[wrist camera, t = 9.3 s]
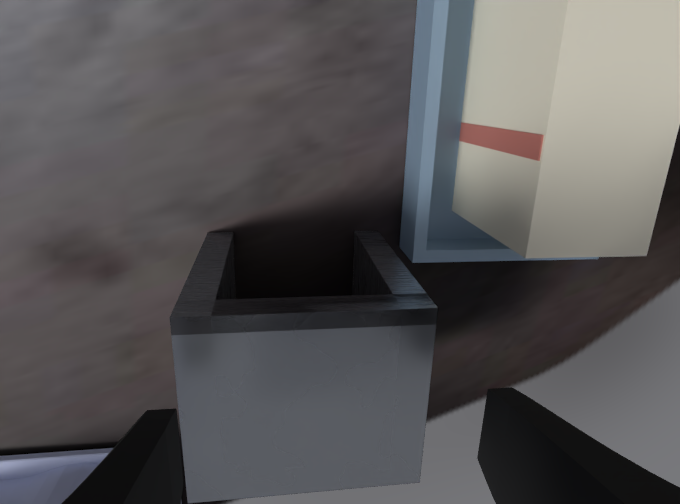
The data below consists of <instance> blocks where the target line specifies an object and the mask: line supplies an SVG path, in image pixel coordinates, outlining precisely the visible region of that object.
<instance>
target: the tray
mask: <svg viewBox="0 0 680 504" xmlns="http://www.w3.org/2000/svg"><path fill="white" fill-rule="evenodd" d="M473 9H474V0H417V13H416V26H415V40H414V54H413V67H412V81H411V95H410V108H409V122H408V136H407V149H406V163H405V177H404V190H403V204H402V218H401V231H400V245H399V247H400V248H401V250H402V251H403V252H404V253H405V254H406V256H407V257H408V258H409V259H410V260H411V262H412V263H430V262H477V261H524V260H571V259H598V258H599V257H572V258H524V257H523V256H521V255H519V254H518V253H516V252H515V251H513V250H512V249H510V248H509V247H507V246H506V245H504V244H502V243H501V242H499V241H498V240H496V239H495V238H493V237H492V236H490V235H489V234H487V233H485V232H484V231H482V230H481V229H479V228H478V227H476V226H475V225H473V224H472V223H470V222H468V221H467V220H465V219H464V218H462V217H461V216H459V215H458V214H456V213H455V212H453V211H452V203H453V194H454V185H455V176H456V166H457V157H458V148H459V137H460V127H461V120H462V111H463V102H464V92H465V83H466V74H467V65H468V55H469V46H470V37H471V28H472V18H473Z"/></svg>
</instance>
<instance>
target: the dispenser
mask: <svg viewBox="0 0 680 504" xmlns="http://www.w3.org/2000/svg"><path fill="white" fill-rule="evenodd" d="M437 313H438V307H437V306H436V305H435V303H434V302H433V301H432V300H431V298H430V297H429V296H428V295H427V293H426V292H425V291H424V289H423V288H422V287H421V286H420V284H419V283H418V282H417V280H416V279H415V278H414V277H413V275H412V274H411V273H410V271H409V270H408V269H407V268H406V266H405V265H404V264H403V262H402V261H401V260H400V259H399V257H398V256H397V255H396V254H395V252H394V251H393V250H392V248H391V247H390V246H389V245H388V243H387V242H386V241H385V239H384V238H383V237H382V236H381V234H380V233H379V232H378V231H354V255H353V279H352V296H320V297H287V298H255V299H236V283H235V261H234V239H233V232H213V233H207V236H206V238H205V240H204V242H203V244H202V247H201V249H200V251H199V253H198V256H197V258H196V260H195V262H194V265H193V267H192V269H191V271H190V274H189V276H188V278H187V280H186V282H185V285H184V287H183V289H182V291H181V294H180V296H179V298H178V300H177V303H176V305H175V307H174V309H173V311H172V314H171V316H170V325H171V336H172V346H173V356H174V367H175V377H176V387H177V398H178V408H179V419H180V429H181V439H182V450H183V460H184V470H185V481H186V491H187V501H188V503H198V502H209V501H220V500H231V499H242V498H253V497H264V496H275V495H286V494H297V493H308V492H319V491H330V490H340V489H352V488H363V487H375V486H385V485H396V484H408V483H419V482H420V474H421V464H422V454H423V445H424V436H425V426H426V417H427V408H428V398H429V389H430V379H431V370H432V360H433V351H434V341H435V332H436V322H437Z"/></svg>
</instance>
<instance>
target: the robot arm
mask: <svg viewBox="0 0 680 504" xmlns="http://www.w3.org/2000/svg"><path fill="white" fill-rule="evenodd" d="M478 461H479V464H480V466H481V469H482V471H483V474H484V476H485V479H486V481H487V484H488V486H489V489H490V491H491V494H492V496H493V498H494V500H495V502H496V504H680V487H678V486H676V485H674V484H672V483H670V482H668V481H666V480H664V479H662V478H660V477H658V476H657V475H655V474H653V473H651V472H649V471H647V470H646V469H644V468H642V467H640V466H639V465H637V464H635V463H633V462H632V461H630V460H628V459H627V458H625V457H623V456H621V455H620V454H618V453H616V452H614V451H613V450H611V449H609V448H608V447H606V446H605V445H603V444H601V443H600V442H598V441H596V440H595V439H593V438H592V437H590V436H588V435H587V434H585V433H584V432H582V431H580V430H579V429H577V428H576V427H574V426H573V425H571V424H570V423H568V422H566V421H565V420H563V419H562V418H560V417H559V416H557V415H556V414H554V413H553V412H551V411H549V410H548V409H546V408H545V407H543V406H542V405H540V404H538V403H537V402H535V401H534V400H532V399H531V398H529V397H527V396H526V395H524V394H522V393H521V392H519V391H517V390H515V389H514V388H497V389H488V392H487V399H486V405H485V412H484V418H483V425H482V432H481V439H480V445H479V451H478ZM183 484H184V482H183V472H182V461H181V451H180V441H179V431H178V421H177V411H176V409H161V410H147V411H146V412H145V413H144V414H143V415H142V416H141V417H140V418H139V419H138V421H137V422H136V423H135V424H134V425H133V426H132V428H131V429H130V430H129V431H128V432H127V433H126V434H125V436H124V437H123V438H122V439H121V440H120V441H119V443H118V444H117V445H116V446H115V447H114V448H104V449H90V450H76V451H62V452H49V453H35V454H21V455H7V456H0V504H182V500H181V498H182V491H183Z"/></svg>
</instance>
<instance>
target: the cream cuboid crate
mask: <svg viewBox="0 0 680 504" xmlns="http://www.w3.org/2000/svg"><path fill="white" fill-rule="evenodd" d="M679 125H680V0H474V9H473V18H472V28H471V37H470V46H469V55H468V65H467V74H466V83H465V92H464V102H463V111H462V120H461V127H460V137H459V148H458V157H457V166H456V176H455V185H454V194H453V203H452V211H453V212H455V213H456V214H458V215H459V216H461V217H462V218H464V219H465V220H467V221H468V222H470V223H472V224H473V225H475V226H476V227H478V228H479V229H481V230H482V231H484V232H485V233H487V234H489V235H490V236H492V237H493V238H495V239H496V240H498V241H499V242H501V243H502V244H504V245H506V246H507V247H509V248H510V249H512V250H513V251H515V252H516V253H518V254H519V255H521V256H523V257H524V258H572V257H621V256H647V252H648V248H649V244H650V240H651V236H652V232H653V228H654V224H655V220H656V217H657V213H658V209H659V205H660V201H661V197H662V193H663V189H664V185H665V181H666V177H667V173H668V169H669V165H670V161H671V157H672V153H673V149H674V145H675V141H676V137H677V133H678V129H679Z"/></svg>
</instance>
